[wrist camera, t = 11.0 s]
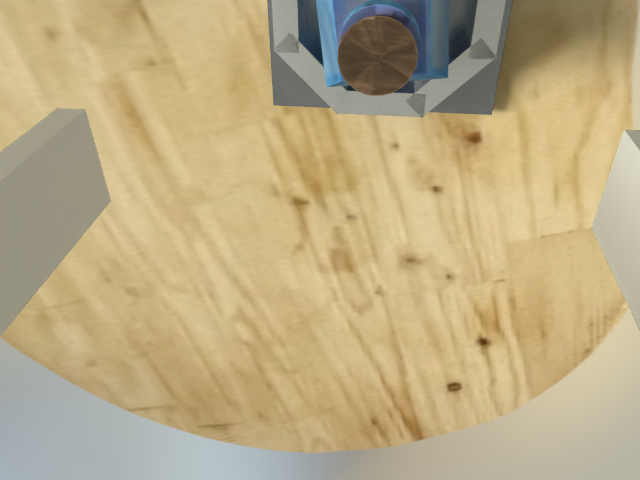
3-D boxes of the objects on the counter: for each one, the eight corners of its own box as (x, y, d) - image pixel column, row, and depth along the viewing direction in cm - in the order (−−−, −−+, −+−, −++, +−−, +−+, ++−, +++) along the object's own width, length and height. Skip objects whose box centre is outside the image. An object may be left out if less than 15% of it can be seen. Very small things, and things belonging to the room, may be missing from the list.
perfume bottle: (338, 51, 34) (310, 134, 24) (326, -64, 30) (288, -19, 21) (441, 42, 33) (456, 125, 23) (442, -78, 29) (459, -38, 20)
